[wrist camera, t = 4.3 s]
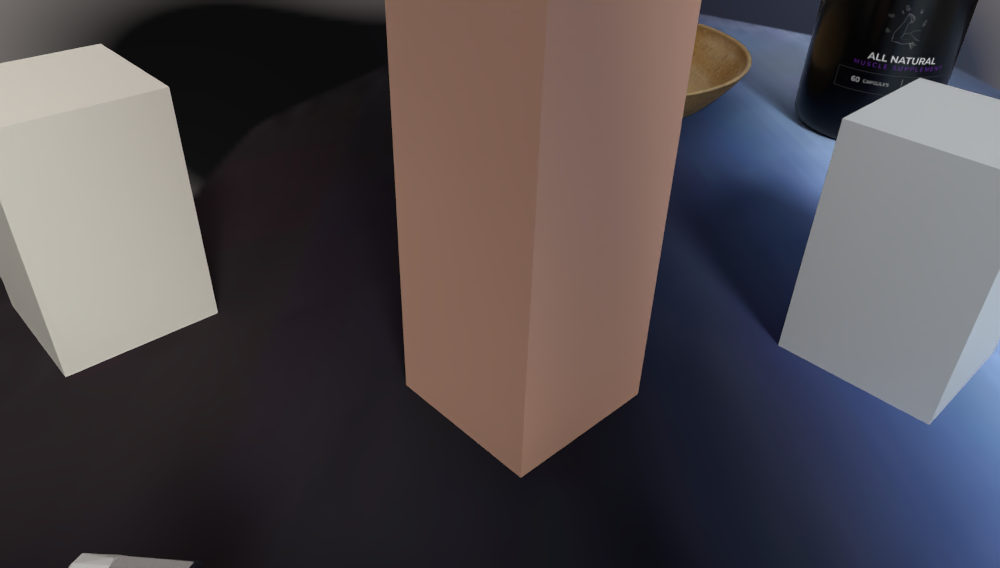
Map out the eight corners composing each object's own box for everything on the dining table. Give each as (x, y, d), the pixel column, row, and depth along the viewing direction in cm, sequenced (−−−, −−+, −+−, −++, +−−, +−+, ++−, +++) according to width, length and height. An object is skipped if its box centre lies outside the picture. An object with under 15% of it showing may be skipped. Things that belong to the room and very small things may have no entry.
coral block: (522, 320, 27) (543, -96, 20) (637, 393, 24) (711, -62, 17) (406, 385, 25) (381, -73, 17) (520, 477, 22) (549, -27, 14)
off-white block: (154, 254, 30) (100, 43, 26) (218, 313, 27) (168, 87, 23) (12, 305, 27) (-77, 78, 23) (65, 377, 25) (-25, 133, 20)
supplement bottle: (864, 161, 39) (949, -116, 32) (765, 110, 44) (820, -138, 37) (959, 136, 41) (1056, -123, 34) (855, 92, 46) (922, -143, 39)
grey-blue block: (850, 288, 30) (920, 77, 25) (992, 353, 27) (1101, 127, 22) (778, 345, 27) (842, 118, 22) (929, 425, 24) (1038, 181, 19)
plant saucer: (700, 169, 38) (710, 117, 37) (434, 108, 44) (433, 61, 42) (768, 75, 49) (777, 32, 47) (548, 36, 54) (550, -4, 53)
